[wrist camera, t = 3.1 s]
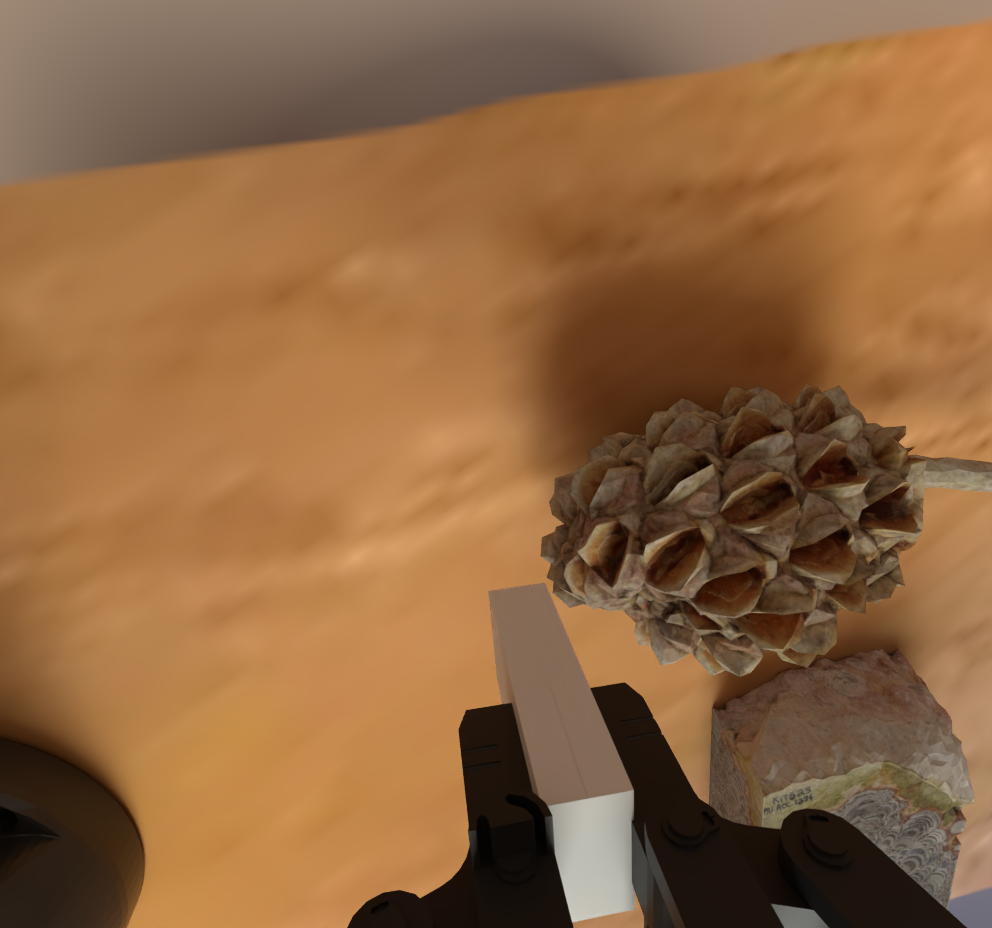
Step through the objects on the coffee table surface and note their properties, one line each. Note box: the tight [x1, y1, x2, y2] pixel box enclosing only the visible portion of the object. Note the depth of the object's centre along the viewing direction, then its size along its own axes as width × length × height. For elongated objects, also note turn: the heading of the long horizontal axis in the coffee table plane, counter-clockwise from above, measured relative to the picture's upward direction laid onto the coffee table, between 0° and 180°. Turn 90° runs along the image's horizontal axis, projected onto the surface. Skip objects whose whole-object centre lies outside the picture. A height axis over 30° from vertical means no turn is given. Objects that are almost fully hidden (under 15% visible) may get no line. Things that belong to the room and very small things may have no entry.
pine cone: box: [541, 384, 992, 677], centre depth 21 cm, size 22×10×10 cm, turn 97°
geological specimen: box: [709, 649, 975, 909], centre depth 31 cm, size 11×6×15 cm
